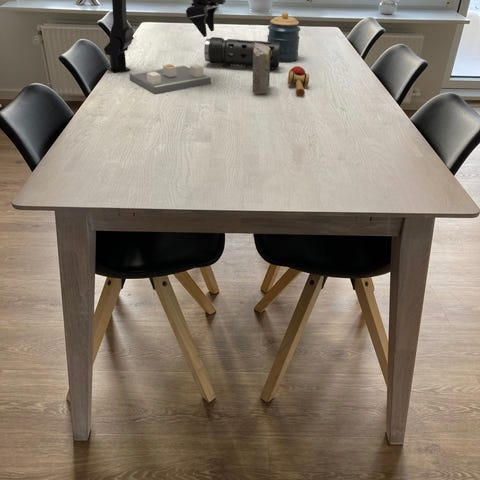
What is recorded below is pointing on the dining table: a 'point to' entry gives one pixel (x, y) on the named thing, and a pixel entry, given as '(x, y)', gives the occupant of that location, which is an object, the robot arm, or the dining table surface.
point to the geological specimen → (261, 68)
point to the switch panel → (171, 79)
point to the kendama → (298, 79)
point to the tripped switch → (169, 70)
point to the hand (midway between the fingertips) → (208, 33)
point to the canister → (285, 36)
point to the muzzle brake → (237, 52)
